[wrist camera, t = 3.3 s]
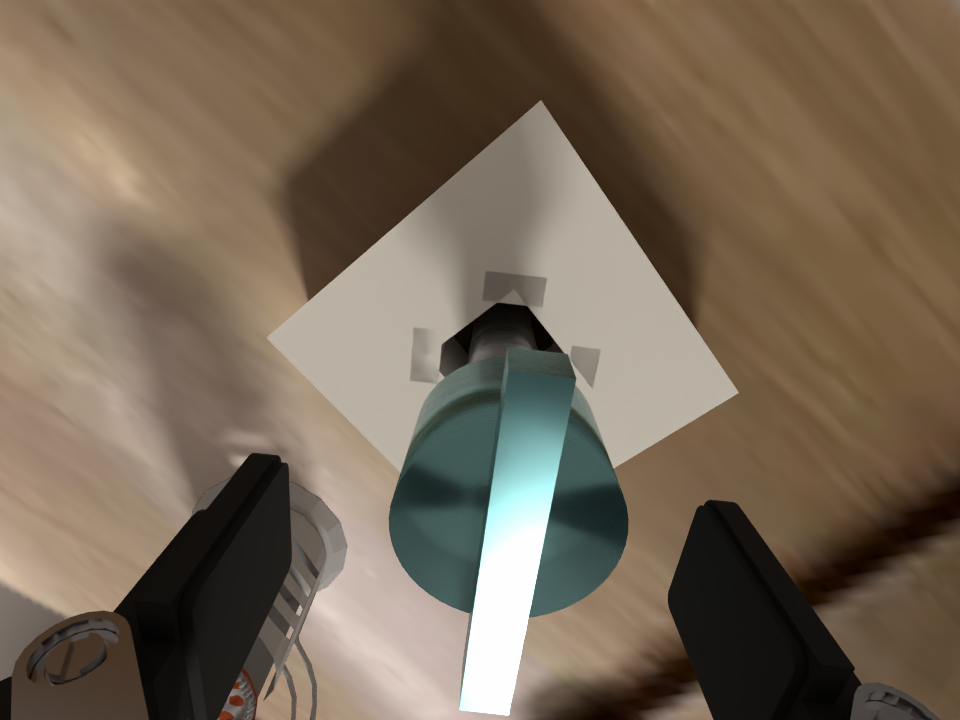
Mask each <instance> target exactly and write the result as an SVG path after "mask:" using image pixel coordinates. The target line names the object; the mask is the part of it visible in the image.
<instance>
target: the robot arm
mask: <svg viewBox="0 0 960 720" xmlns="http://www.w3.org/2000/svg"><path fill="white" fill-rule="evenodd" d="M291 561H292V540H291V516H290V491H289V468H288V464H287V463H282V462H281V459H280V457H279V456H278V455H269V454H259V453H252V454H250V455H249V456H248V458H247V459H246V460H245V461H244V463H243V464H242V465H241V466H240V468H239V469H238V470H237V471H236V473H235V474H234V475H233V476H232V478H231V479H230V480H229V481H228V483H227V484H226V485H225V486H224V488H223V489H222V490H221V492H220V493H219V494H218V495H217V497H216V498H215V499H214V500H213V502H212V503H211V504H210V505H209V507H208V508H207V509H206V510H205V509H201V510H199V511H197V512H196V513H195V514H194V515H193V516H192V517H191V518H190V519H189V520H188V522H187V523H186V524H185V525H184V526H183V528H182V529H181V530H180V531H179V533H178V534H177V535H176V536H175V537H174V539H173V540H172V541H171V542H170V544H169V545H168V546H167V547H166V548H165V550H164V551H163V552H162V553H161V554H160V556H159V557H158V558H157V559H156V561H155V562H154V563H153V564H152V565H151V567H150V568H149V569H148V570H147V571H146V573H145V574H144V575H143V576H142V578H141V579H140V580H139V581H138V582H137V584H136V585H135V586H134V587H133V588H132V590H131V591H130V592H129V593H128V595H127V596H126V597H125V598H124V599H123V601H122V602H121V603H120V604H119V606H118V607H117V608H116V609H115V610H114V612H108V611H96V612H87V613H84V614H80V615H77V616H73V617H70V618H68V619H66V620H64V621H62V622H60V623H58V624H55V625H54V626H52V627H51V628H49V629H48V630H46V631H45V632H43V633H42V634H40V635H39V636H38V637H37V638H35V640H33V641H32V642H31V643H30V644H29V645H28V646H27V647H26V648H25V649H24V650H23V652H22V653H21V655H20V656H19V658H18V660H17V661H16V663H15V666H14V670H13V674H12V676H11V677H8V678H6V679H4V680H2V681H0V720H217V719H218V718H219V716H220V714H221V712H222V709H223V707H224V705H225V703H226V701H227V699H228V697H229V695H230V693H231V691H232V689H233V687H234V684H235V682H236V680H237V678H238V676H239V674H240V672H241V670H242V668H243V666H244V664H245V662H246V659H247V657H248V655H249V653H250V651H251V649H252V647H253V645H254V643H255V641H256V639H257V637H258V634H259V632H260V630H261V628H262V626H263V624H264V622H265V620H266V618H267V616H268V614H269V612H270V609H271V607H272V605H273V603H274V601H275V599H276V597H277V595H278V593H279V591H280V589H281V587H282V585H283V582H284V580H285V578H286V576H287V574H288V572H289V569H290V566H291ZM668 605H669V609H670V612H671V614H672V617H673V619H674V622H675V624H676V627H677V629H678V632H679V634H680V637H681V639H682V642H683V644H684V647H685V649H686V652H687V654H688V657H689V659H690V662H691V664H692V667H693V669H694V672H695V674H696V677H697V679H698V682H699V684H700V687H701V689H702V692H703V694H704V697H705V699H706V702H707V704H708V707H709V709H710V712H711V714H712V717H713V719H714V720H940V719H939V718H938V717H937V716H936V715H935V714H934V713H933V712H931V711H930V710H929V709H928V708H927V707H926V706H924V705H923V704H922V703H920V702H919V701H917V700H916V699H914V698H912V697H911V696H909V695H908V694H906V693H904V692H902V691H900V690H898V689H896V688H893V687H891V686H887V685H884V684H880V683H865V684H863V685H862V684H861V682H860V681H859V679H858V678H857V677H856V675H855V674H854V672H853V671H854V669H855V668H854V666H853V665H852V663H851V662H850V661H849V659H848V658H847V656H846V655H845V654H844V652H843V651H842V649H841V648H840V647H839V645H838V644H837V642H836V641H835V640H834V638H833V637H832V635H831V634H830V633H829V631H828V630H827V628H826V627H825V626H824V624H823V623H822V621H821V620H820V619H819V617H818V616H817V614H816V613H815V612H814V610H813V609H812V607H811V606H810V605H809V603H808V602H807V600H806V599H805V598H804V596H803V595H802V593H801V592H800V591H799V589H798V588H797V586H796V585H795V584H794V582H793V581H792V579H791V578H790V577H789V575H788V574H787V572H786V571H785V570H784V568H783V567H782V565H781V564H780V563H779V561H778V560H777V558H776V557H775V556H774V554H773V553H772V551H771V550H770V549H769V547H768V546H767V544H766V543H765V542H764V540H763V539H762V537H761V536H760V535H759V533H758V532H757V530H756V529H755V528H754V526H753V525H752V524H751V522H750V521H749V519H748V518H747V517H746V515H745V514H744V512H743V511H742V510H741V508H740V507H739V506H738V505H737V504H736V503H734V502H727V501H717V500H708V501H707V502H706V503H705V504H704V506H703V505H701V506H699V507H698V508H697V510H696V513H695V516H694V519H693V521H692V524H691V527H690V530H689V533H688V536H687V539H686V542H685V545H684V548H683V551H682V554H681V557H680V560H679V563H678V565H677V568H676V571H675V574H674V577H673V580H672V583H671V586H670V589H669V593H668Z"/></svg>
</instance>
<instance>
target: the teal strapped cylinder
mask: <svg viewBox="0 0 960 720" xmlns="http://www.w3.org/2000/svg"><path fill="white" fill-rule="evenodd" d="M575 384H576V376H575V373H574V370H573V367H572V365H571V362H570V359H569V356H568V354H564V353H556V352H547V351H539V350H537V345H536V340H535V335H534V330H533V325H532V320H531V317H530V315H529V313H528V312H527V310H526V309H525V308H524V307H523V306H522V305H516V304H508V303H499V302H497V303H496V304H494V305H493V306H492V307H490V308H489V309H488V310H486V311H485V312H484V313H482V314H481V315H480V316H479V317H477V318H476V319H475V320H474V324H473V331H472V338H471V344H470V351H469V357H468V364H467V365H465V366H463V367H461V368H459V369H457V370H455V371H454V372H452V373H450V374H449V375H447V376H446V377H445V378H444V379H443V380H441V381H440V382H439V383H438V384H437V385H436V386H435V387H434V389H433V390H432V391H431V392H430V394H429V395H428V397H427V398H426V400H425V401H424V403H423V406H422V408H421V410H420V413H419V416H418V419H417V422H416V426H415V429H414V432H413V435H412V438H411V442H410V445H409V448H408V451H407V454H406V458H405V461H404V464H403V467H402V470H401V474H400V477H399V480H398V483H397V486H396V490H395V493H394V496H393V499H392V503H391V506H390V514H389V531H390V537H391V542H392V545H393V548H394V551H395V553H396V556H397V557H398V559H399V561H400V563H401V565H402V566H403V568H404V569H405V571H406V572H407V573H408V575H409V576H410V577H411V578H412V579H413V580H414V581H415V582H416V583H417V584H418V585H419V586H420V587H421V588H422V589H424V590H425V591H426V592H427V593H428V594H430V595H431V596H433V597H435V598H436V599H438V600H439V601H441V602H443V603H445V604H447V605H449V606H451V607H453V608H456V609H459V610H461V611H464V612H467V613H470V615H469V622H468V629H467V636H466V643H465V650H464V657H463V665H462V679H461V693H460V707H459V710H465V711H474V712H483V713H492V714H501V715H509V710H510V705H511V700H512V695H513V690H514V685H515V681H516V676H517V671H518V666H519V661H520V656H521V651H522V646H523V641H524V636H525V631H526V626H527V621H528V617H536V616H540V615H545V614H549V613H552V612H555V611H558V610H561V609H564V608H566V607H568V606H570V605H572V604H574V603H576V602H578V601H580V600H581V599H583V598H584V597H586V596H588V595H589V594H590V593H591V592H593V591H594V590H595V589H597V588H598V587H599V586H600V585H601V584H602V583H603V582H604V581H605V580H606V579H607V578H608V576H609V575H610V574H611V572H612V571H613V570H614V568H615V567H616V565H617V563H618V561H619V560H620V558H621V556H622V553H623V550H624V548H625V545H626V540H627V535H628V513H627V506H626V503H625V500H624V497H623V494H622V491H621V488H620V485H619V483H618V480H617V477H616V475H615V472H614V469H613V467H612V464H611V461H610V458H609V456H608V453H607V450H606V448H605V445H604V442H603V439H602V437H601V434H600V431H599V429H598V426H597V423H596V421H595V418H594V415H593V412H592V410H591V408H590V406H589V404H588V402H587V400H586V398H585V397H584V395H583V394H582V392H581V391H580V390H579V389H578V388H577V386H576V385H575Z"/></svg>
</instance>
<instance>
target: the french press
mask: <svg viewBox="0 0 960 720" xmlns="http://www.w3.org/2000/svg"><path fill="white" fill-rule="evenodd" d="M230 479H231V478H229V479H227V480H225V481H223V482H222V483H220V484H218V485H216V486H214V487H212V488H210V489H209V490H207V491H205V493H204V494H203V496H202V497H201V499H200V500H199V502H198V504H197V505H196V507H195V508H194V510H193V511H192V516H193V515H194V514H195V513H196V512H197V511H199V510H201V509H205V510H206V509H207V508H208V507H209V505H210V504H211V503H212V502H213V500H214V499H215V498H216V497H217V495H218V494H219V493H220V492H221V490H222V489H223V488H224V486H225V485H226V484H227V483H228V481H229V480H230ZM289 491H290V516H291V540H292V561H291V566H290V569H289V572H288V574H287V576H286V578H285V580H284V582H283V585H282V587H281V589H280V591H279V593H278V595H277V597H276V599H275V601H274V603H273V605H272V607H271V609H270V612H269V614H268V616H267V618H266V620H265V622H264V624H263V626H262V628H261V630H260V632H259V634H258V637H257V639H256V641H255V643H254V645H253V647H252V649H251V651H250V653H249V655H248V657H247V659H246V662H245V664H244V666H243V668H242V670H241V672H240V674H239V676H238V678H237V680H236V682H235V684H234V687H233V689H232V691H231V693H230V695H229V697H228V699H227V701H226V703H225V705H224V707H223V709H222V712H221V714H220V716H219V718H218V719H217V720H255V715H256V707H257V698H258V696H259V694H260V692H261V689H262V687H263V685H264V683H265V680H266V678H267V676H268V674H269V672H270V669H271V667H272V665H273V663H275V667H276V673H275V675H274V677H273V680H272V682H271V684H270V687H269V689H268V691H267V693H266V696H265V698H264V700H265V699H266V698H267V697H268V695H269V694H270V693H271V692H272V691H273V690H274V688H275V685H276V683H277V681H278V678H279V676H280V674H281V671H283V673H284V675H285V677H286V680H287V683H288V686H289V690H290V693H291V697H292V714H291V720H295V719H296V700H297V696H296V692H295V688H294V684H293V680H292V676H291V675H290V673H289V671H288V669H287V667H286V665H285V662H286V660H287V657H288V655H289V653H290V650H291V648H292V646H293V643H295V645H296V647H297V649H298V651H299V653H300V655H301V657H302V659H303V661H304V663H305V665H306V667H307V670H308V673H309V676H310V680H311V683H312V701H313V705H312V710H311V716H310V720H315V717H316V707H317V684H316V680H315V676H314V672H313V669H312V665H311V663H310V661H309V659H308V657H307V655H306V653H305V651H304V649H303V647H302V646H301V644H300V641H299V637H298V636H299V634H300V631H301V629H302V626H303V624H304V621H305V619H306V616H307V614H308V611H309V609H310V606H311V604H312V601H313V599H314V596H315V594H316V592H317V591H320V590H322V589H324V588H326V587H328V586H329V585H330V584H331V582H332V581H333V580H334V579H335V578H336V577H337V575H338V574H339V573H340V572H341V571H342V570H343V566H344V561H345V556H346V551H347V543H346V540H345V537H344V533H343V530H342V527H341V523H340V521H339V520H338V519H337V518H336V516H335V515H334V514H333V513H332V512H331V510H330V509H329V508H328V507H327V506H326V504H325V503H324V502H323V501H322V500H321V499H320V498H318V497H317V496H315V495H313V494H312V493H310V492H308V491H307V490H305V489H303V488H302V487H300V486H298V485H297V484H295V483H293V482H289ZM307 596H309V597H307ZM299 605H301V606H302V608H303V610H302V613H301V615H300V617H299V616H298V615H297V614H296V611H297V609H298V607H299ZM290 625H291V626H292V628H293V629H294V631H293V633H292V636H291V638H290V640H289V639H288V638H287V637H286V634H287V632H288V630H289V627H290ZM264 700H263V701H264Z"/></svg>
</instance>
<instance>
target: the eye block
mask: <svg viewBox="0 0 960 720" xmlns="http://www.w3.org/2000/svg"><path fill="white" fill-rule="evenodd" d="M497 302H499V303H508V304H516V305H525V306H528V307H529V309H530V310H531V311H532V312H533V314H534V315H535V316H536V318H537V319H538V320H539V321H540V323H541V324H542V325H543V326H544V328H545V329H546V330H547V332H548V333H549V334H550V335H551V337H552V338H553V345H552V346H550V347H549V348H547V349H546V350H544V351H547V352H556V353H564V354H568V356H569V359H570V362H571V365H572V367H573V370H574V373H575V376H576V384H575V385H576V386H577V388H578V389H579V390H580V391H581V392H582V394H583V395H584V397H585V398H586V400H587V402H588V404H589V406H590V408H591V410H592V412H593V415H594V418H595V421H596V423H597V426H598V429H599V431H600V434H601V437H602V439H603V442H604V445H605V448H606V450H607V453H608V456H609V458H610V461H611V464H612V467H613V468H615V467H617V466H618V465H620V464H622V463H623V462H625V461H627V460H628V459H630V458H632V457H633V456H635V455H637V454H638V453H640V452H642V451H643V450H645V449H647V448H648V447H650V446H651V445H653V444H655V443H656V442H658V441H660V440H661V439H663V438H665V437H666V436H668V435H670V434H671V433H673V432H675V431H676V430H678V429H680V428H681V427H683V426H685V425H686V424H688V423H690V422H691V421H693V420H695V419H696V418H698V417H700V416H701V415H703V414H704V413H706V412H708V411H709V410H711V409H713V408H714V407H716V406H718V405H719V404H721V403H723V402H724V401H726V400H728V399H729V398H731V397H733V396H734V395H736V394H738V393H739V392H738V391H737V389H736V388H735V386H734V385H733V384H732V382H731V381H730V379H729V378H728V376H727V375H726V373H725V372H724V370H723V369H722V367H721V366H720V364H719V363H718V361H717V360H716V358H715V357H714V355H713V354H712V352H711V351H710V349H709V348H708V347H707V345H706V344H705V342H704V341H703V339H702V338H701V336H700V335H699V333H698V332H697V330H696V329H695V327H694V326H693V324H692V323H691V321H690V320H689V318H688V317H687V315H686V314H685V313H684V311H683V310H682V308H681V307H680V305H679V304H678V302H677V301H676V299H675V298H674V296H673V295H672V293H671V292H670V290H669V289H668V287H667V286H666V284H665V283H664V281H663V280H662V278H661V277H660V276H659V274H658V273H657V271H656V270H655V268H654V267H653V265H652V264H651V262H650V261H649V259H648V258H647V256H646V255H645V253H644V252H643V250H642V249H641V247H640V246H639V244H638V243H637V242H636V240H635V239H634V237H633V236H632V234H631V233H630V231H629V230H628V228H627V227H626V225H625V224H624V222H623V221H622V219H621V218H620V216H619V215H618V213H617V212H616V210H615V209H614V207H613V206H612V205H611V203H610V202H609V200H608V199H607V197H606V196H605V194H604V193H603V191H602V190H601V188H600V187H599V185H598V184H597V182H596V181H595V179H594V178H593V176H592V175H591V173H590V172H589V171H588V169H587V168H586V166H585V165H584V163H583V162H582V160H581V159H580V157H579V156H578V154H577V153H576V151H575V150H574V148H573V147H572V145H571V144H570V142H569V141H568V139H567V138H566V136H565V135H564V134H563V132H562V131H561V129H560V128H559V126H558V125H557V123H556V122H555V120H554V119H553V117H552V116H551V114H550V113H549V111H548V110H547V108H546V107H545V105H544V104H543V102H542V101H541V100H540V101H539V102H538V103H537V104H536V105H535V106H534V107H532V108H531V109H530V110H529V111H528V112H527V113H525V114H524V115H523V116H522V117H521V118H520V119H519V120H517V121H516V122H515V123H514V124H513V125H512V126H510V127H509V128H508V129H507V130H506V131H505V132H503V133H502V134H501V135H500V136H499V137H498V138H497V139H495V140H494V141H493V142H492V143H491V144H490V145H488V146H487V147H486V148H485V149H484V150H483V151H482V152H480V153H479V154H478V155H477V156H476V157H475V158H473V159H472V160H471V161H470V162H469V163H468V164H467V165H465V166H464V167H463V168H462V169H461V170H460V171H458V172H457V173H456V174H455V175H454V176H453V177H452V178H450V179H449V180H448V181H447V182H446V183H445V184H443V185H442V186H441V187H440V188H439V189H438V190H437V191H435V192H434V193H433V194H432V195H431V196H430V197H428V198H427V199H426V200H425V201H424V202H423V203H422V204H420V205H419V206H418V207H417V208H416V209H415V210H413V211H412V212H411V213H410V214H409V215H408V216H407V217H405V218H404V219H403V220H402V221H401V222H400V223H398V224H397V225H396V226H395V227H394V228H393V229H392V230H390V231H389V232H388V233H387V234H386V235H385V236H383V237H382V238H381V239H380V240H379V241H378V242H376V243H375V244H374V245H373V246H372V247H371V248H370V249H368V250H367V251H366V252H365V253H364V254H363V255H361V256H360V257H359V258H358V259H357V260H356V261H355V262H353V263H352V264H351V265H350V266H349V267H348V268H346V269H345V270H344V271H343V272H342V273H341V274H340V275H338V276H337V277H336V278H335V279H334V280H333V281H331V282H330V283H329V284H328V285H327V286H326V287H325V288H323V289H322V290H321V291H320V292H319V293H318V294H316V295H315V296H314V297H313V298H312V299H311V300H310V301H308V302H307V303H306V304H305V305H304V306H303V307H301V308H300V309H299V310H298V311H297V312H296V313H295V314H293V315H292V316H291V317H290V318H289V319H288V320H286V321H285V322H284V323H283V324H282V325H281V326H280V327H278V328H277V329H276V330H275V331H274V332H273V333H271V334H270V335H269V336H268V337H267V339H268V340H269V341H270V342H271V343H272V344H273V345H274V346H275V347H276V348H277V349H278V350H279V351H280V352H281V353H282V354H283V355H284V356H285V357H286V358H287V359H288V360H289V361H290V362H291V363H292V364H293V365H294V366H295V367H296V368H297V369H298V370H299V371H300V372H301V373H302V374H303V375H304V376H305V377H306V378H307V379H308V380H309V381H310V382H311V383H312V384H313V385H314V386H315V387H316V388H317V389H318V390H319V391H320V392H321V393H322V394H323V395H324V396H325V397H326V398H327V399H328V400H329V401H330V402H331V403H332V404H333V405H334V406H335V407H336V408H337V409H338V410H339V411H340V412H341V413H342V414H343V415H344V416H345V417H346V418H347V419H348V420H349V421H350V422H351V423H352V424H353V425H354V426H355V427H356V428H357V429H358V430H359V431H360V432H361V433H362V434H363V435H364V436H365V437H366V438H367V439H368V440H369V441H370V442H371V443H372V444H373V445H374V446H375V447H376V448H377V449H378V451H379V452H380V453H381V454H382V455H383V456H384V457H385V458H386V459H387V460H388V461H389V462H390V463H391V464H392V465H393V466H394V467H395V468H396V469H397V470H398V471H399V472H400V473H401V470H402V467H403V464H404V461H405V458H406V454H407V451H408V448H409V445H410V442H411V438H412V435H413V432H414V429H415V426H416V422H417V419H418V416H419V413H420V410H421V408H422V406H423V403H424V401H425V400H426V398H427V397H428V395H429V394H430V392H431V391H432V390H433V389H434V387H435V386H436V385H437V384H438V383H439V382H440V381H441V380H443V379H444V378H445V377H446V376H447V375H449V374H450V373H452V372H454V371H455V370H457V369H459V368H461V367H463V366H465V365H467V364H468V357H469V354H468V353H467V352H466V351H465V350H464V349H463V347H462V346H461V345H460V344H459V343H458V342H457V340H456V339H455V338H454V337H453V335H455V334H456V333H457V332H459V331H460V330H461V329H463V328H464V327H465V326H467V325H468V324H469V323H471V322H472V321H473V320H475V319H476V318H477V317H479V316H480V315H481V314H482V313H484V312H485V311H486V310H488V309H489V308H490V307H492V306H493V305H494V304H496V303H497Z"/></svg>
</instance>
